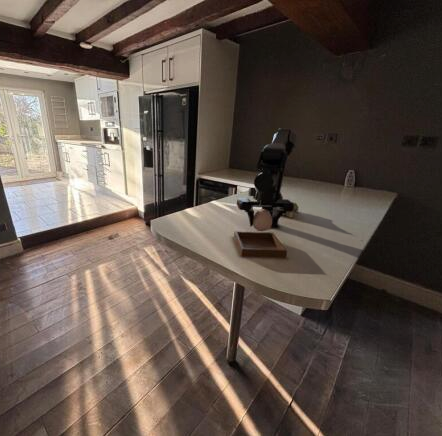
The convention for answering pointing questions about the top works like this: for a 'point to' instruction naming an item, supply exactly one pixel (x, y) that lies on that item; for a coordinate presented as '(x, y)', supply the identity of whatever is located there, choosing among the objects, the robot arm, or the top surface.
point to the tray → (259, 245)
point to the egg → (262, 220)
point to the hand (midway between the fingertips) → (261, 226)
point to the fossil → (290, 214)
